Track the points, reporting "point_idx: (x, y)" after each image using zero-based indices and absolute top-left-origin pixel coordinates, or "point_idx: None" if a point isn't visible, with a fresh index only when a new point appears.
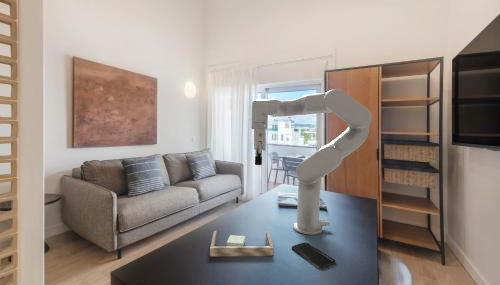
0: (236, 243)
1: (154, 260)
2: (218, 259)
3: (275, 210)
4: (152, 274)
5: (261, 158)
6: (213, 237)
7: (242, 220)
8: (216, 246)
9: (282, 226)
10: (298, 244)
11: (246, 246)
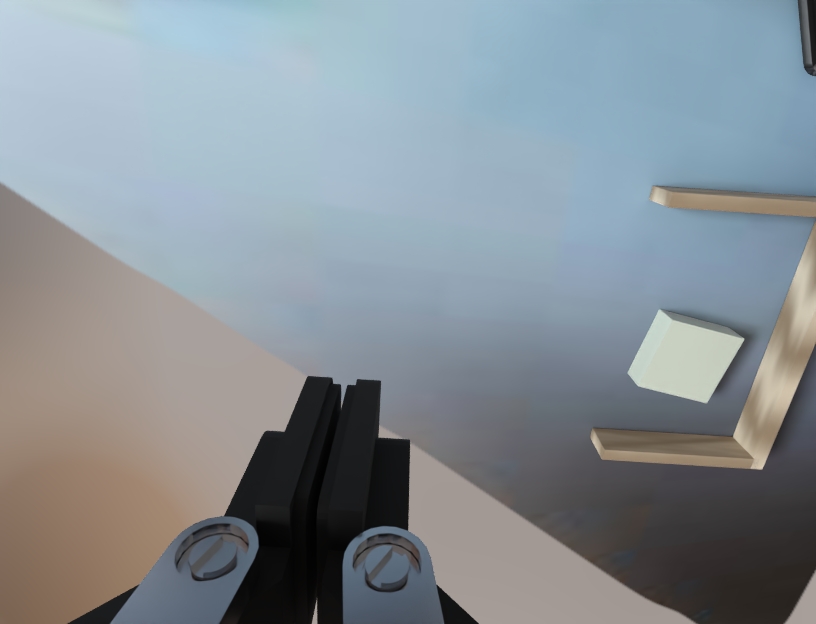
0: (728, 364)
1: (704, 589)
2: None
3: (199, 21)
4: (782, 580)
5: (365, 485)
6: (672, 460)
7: (396, 298)
8: (759, 448)
9: (515, 47)
10: (812, 20)
11: (807, 332)
